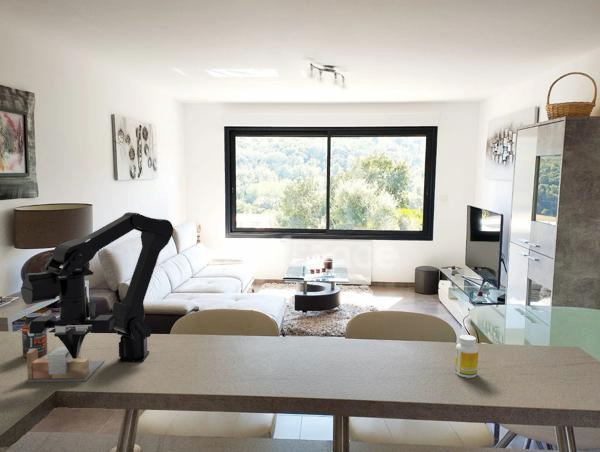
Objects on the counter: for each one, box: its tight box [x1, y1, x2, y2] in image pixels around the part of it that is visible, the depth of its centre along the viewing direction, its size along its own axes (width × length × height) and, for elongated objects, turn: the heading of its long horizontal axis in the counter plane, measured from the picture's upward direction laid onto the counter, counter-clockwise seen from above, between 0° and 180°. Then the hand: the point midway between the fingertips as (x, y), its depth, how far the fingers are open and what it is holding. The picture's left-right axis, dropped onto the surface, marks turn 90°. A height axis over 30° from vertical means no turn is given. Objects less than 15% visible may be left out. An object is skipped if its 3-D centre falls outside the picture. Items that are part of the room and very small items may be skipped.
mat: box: [26, 360, 105, 383], centre depth 116 cm, size 14×12×1 cm
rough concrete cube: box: [47, 346, 73, 374], centre depth 112 cm, size 4×5×5 cm
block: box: [26, 349, 90, 380], centre depth 116 cm, size 14×10×6 cm
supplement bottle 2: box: [454, 334, 479, 379], centre depth 116 cm, size 5×5×10 cm
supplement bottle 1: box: [21, 312, 48, 358], centre depth 127 cm, size 6×6×11 cm
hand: (75, 358), depth 112 cm, fingers closed
